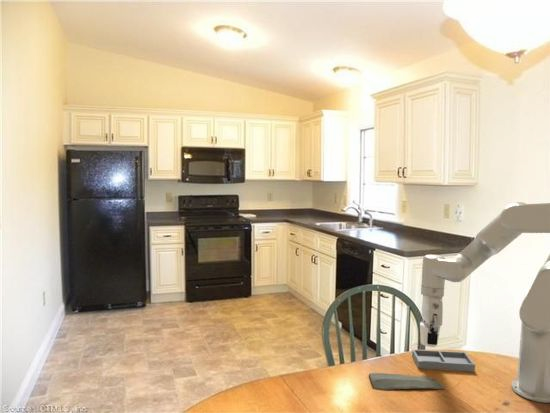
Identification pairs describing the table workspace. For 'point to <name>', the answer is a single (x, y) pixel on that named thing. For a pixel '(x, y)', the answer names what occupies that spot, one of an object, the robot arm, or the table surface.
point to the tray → (443, 360)
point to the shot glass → (426, 333)
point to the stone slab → (402, 382)
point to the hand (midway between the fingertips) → (429, 339)
